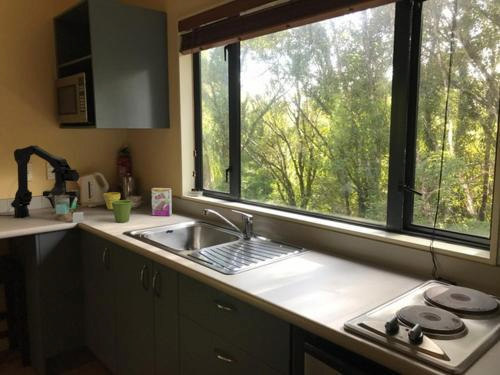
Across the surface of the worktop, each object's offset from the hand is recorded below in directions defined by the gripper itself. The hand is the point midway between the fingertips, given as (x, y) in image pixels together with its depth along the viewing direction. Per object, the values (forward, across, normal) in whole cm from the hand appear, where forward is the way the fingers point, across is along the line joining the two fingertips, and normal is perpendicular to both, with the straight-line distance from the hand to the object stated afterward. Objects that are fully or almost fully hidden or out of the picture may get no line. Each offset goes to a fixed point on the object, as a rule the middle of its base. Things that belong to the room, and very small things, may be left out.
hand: (62, 208), depth 240 cm
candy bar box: (+7, +54, +12) cm, 56 cm away
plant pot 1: (+7, +18, +35) cm, 40 cm away
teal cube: (+3, 0, 0) cm, 3 cm away
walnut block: (+7, 0, 0) cm, 7 cm away
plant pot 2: (+7, +35, -5) cm, 36 cm away
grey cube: (+7, +11, -6) cm, 14 cm away
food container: (+7, -2, +16) cm, 17 cm away
